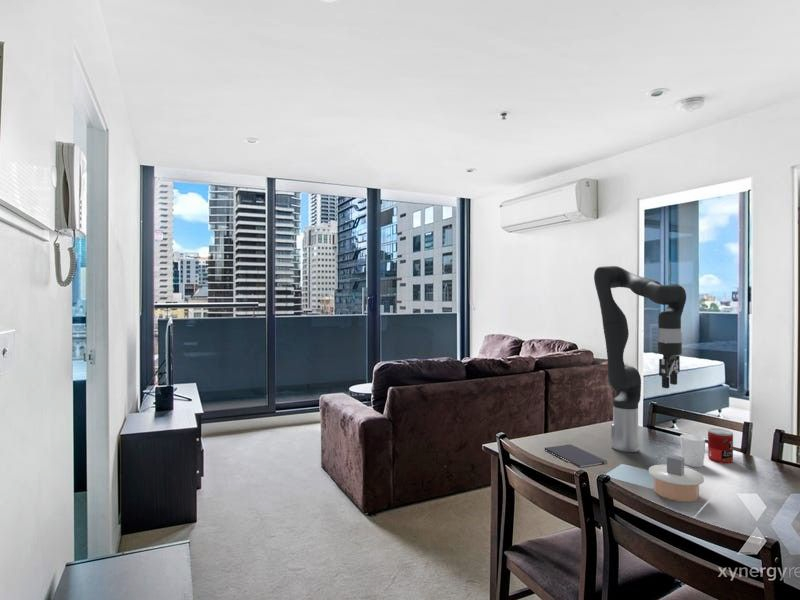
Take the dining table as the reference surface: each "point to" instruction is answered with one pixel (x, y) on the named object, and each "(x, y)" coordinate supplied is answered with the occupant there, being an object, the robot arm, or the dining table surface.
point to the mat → (632, 475)
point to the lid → (676, 472)
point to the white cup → (693, 449)
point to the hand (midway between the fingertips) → (669, 386)
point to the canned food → (720, 445)
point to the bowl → (676, 491)
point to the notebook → (576, 455)
